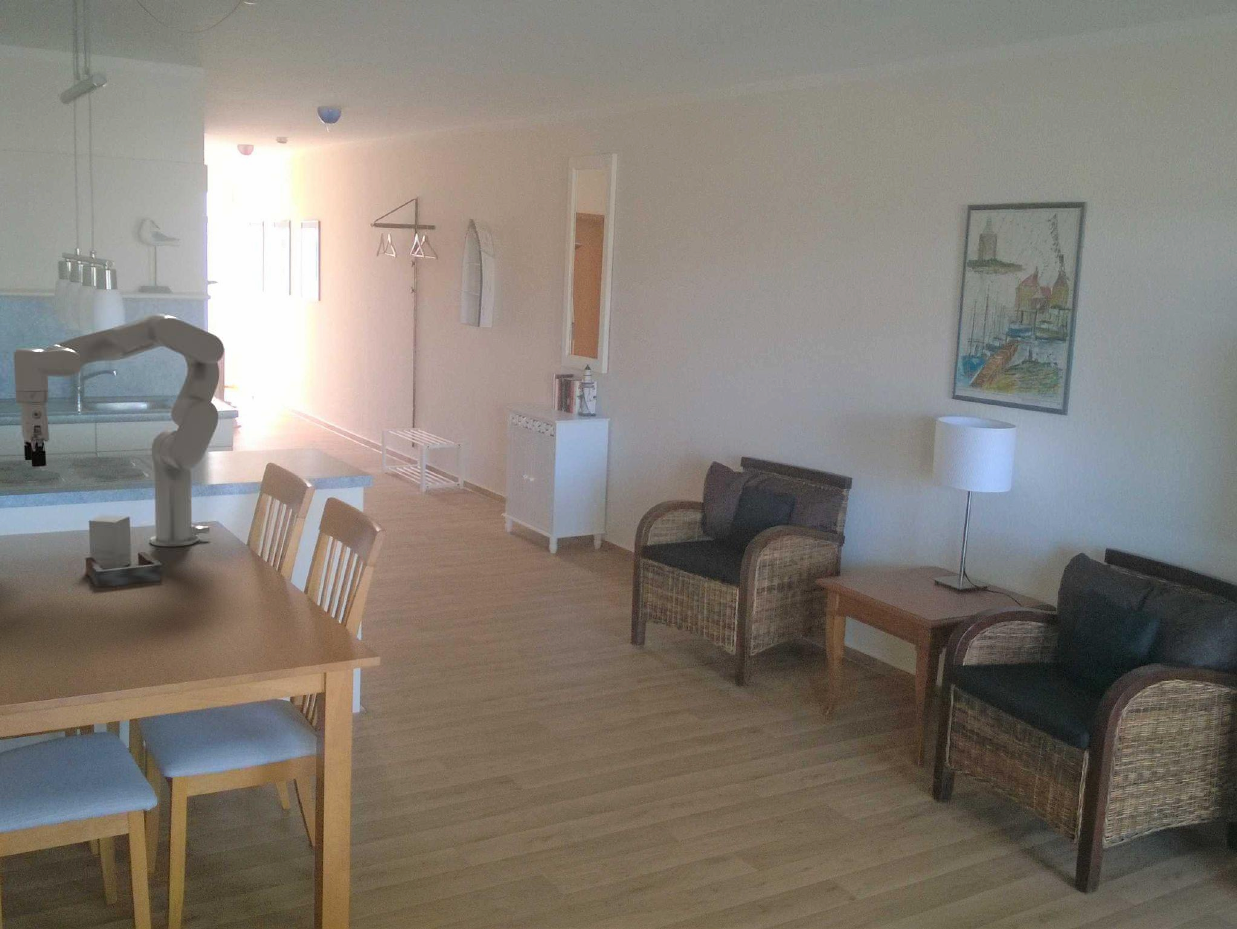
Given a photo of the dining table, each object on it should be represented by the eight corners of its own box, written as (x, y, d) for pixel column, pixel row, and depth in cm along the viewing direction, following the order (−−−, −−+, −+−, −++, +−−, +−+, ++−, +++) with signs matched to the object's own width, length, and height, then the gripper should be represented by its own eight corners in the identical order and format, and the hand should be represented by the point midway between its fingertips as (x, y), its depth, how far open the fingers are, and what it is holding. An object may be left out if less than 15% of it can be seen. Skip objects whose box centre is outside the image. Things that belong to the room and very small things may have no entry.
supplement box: (132, 563, 294) (131, 516, 292) (116, 570, 287) (115, 522, 285) (105, 561, 295) (104, 513, 293) (89, 568, 288) (88, 520, 285)
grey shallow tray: (146, 566, 292) (146, 551, 291) (162, 580, 281) (162, 564, 280) (84, 573, 283) (83, 558, 282) (98, 587, 272) (97, 571, 271)
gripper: (55, 400, 283) (58, 467, 286) (41, 392, 296) (44, 456, 299) (22, 402, 278) (25, 470, 281) (9, 393, 292) (13, 458, 295)
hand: (35, 463), depth 290 cm, fingers open, 9 cm apart
